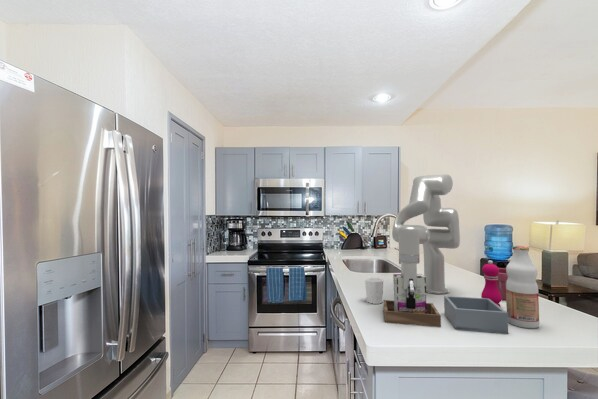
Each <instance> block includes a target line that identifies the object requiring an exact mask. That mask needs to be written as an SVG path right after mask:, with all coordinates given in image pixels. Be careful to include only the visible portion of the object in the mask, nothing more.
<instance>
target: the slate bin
mask: <svg viewBox="0 0 598 399" xmlns="http://www.w3.org/2000/svg"><path fill="white" fill-rule="evenodd" d="M443 304H444V305H443V306H444V307H443V308H444V311H443V312H444V313H443V314H444V315H445V316H446V318H447V319H448V321H449V322H450V324H451V325H452V326H453V328H454V329H455V330H456V329H457V330H458V331H469V332H478V333H479V332H481V333H491V334H492V333H494V334H505V335H509V322H508V313H507V310H505V309H503V307H501V306H500V307H499V306H498V305H497V304H495V303H494V302H493V301H491V300H490V299H487V298H481V297H469V296H468V297H467V296H466V297H465V296H451V295H450V296H449V295H443ZM457 330H456V331H457Z"/></svg>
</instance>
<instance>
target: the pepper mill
mask: <svg viewBox="0 0 598 399" xmlns="http://www.w3.org/2000/svg"><path fill="white" fill-rule="evenodd" d="M493 262H494V261H493V260H490V259H489V260H488V261H487V263H485V264H484V265H483V266H482V268H481V270H482V272H483V278H484V287H483V289H482V291H481V295H480V296H481V297H480V298H487V299H490V300H491V301H493V302H494V303H495V304H497V305H498V306H499V307H501V304H500V303H501V302H502V301H503V300H502V298H501V294H500V292H499V290H498V288H497V280H498V276H497V275H498V274H499V268H500V267H498V266H497V265H496V264H493Z"/></svg>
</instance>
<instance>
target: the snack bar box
mask: <svg viewBox="0 0 598 399" xmlns="http://www.w3.org/2000/svg"><path fill="white" fill-rule="evenodd" d="M392 275H393V277H392V279H393V280H392V281H393V301H394V311H398V312H411V313H424V314H427V305H426V303H427V292H426V276H424V274H422V273H417V289H416V290H415V302H416V308H415V309H408V308H406V297H407V289H405V290H404V289H403V276H402V274H401V273H395V274H394V273H393V274H392ZM414 288H415V287H414ZM408 289H410V288H408ZM408 292H410V291H408Z"/></svg>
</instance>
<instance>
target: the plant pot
mask: <svg viewBox="0 0 598 399" xmlns="http://www.w3.org/2000/svg"><path fill="white" fill-rule="evenodd" d="M498 268H499V274H498V275H497V276H498V280H497V288H498V290H499V292H500V294H501V298H502V300H501V301H506V281H507V279H508V276H507V273H506V267H498Z"/></svg>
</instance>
